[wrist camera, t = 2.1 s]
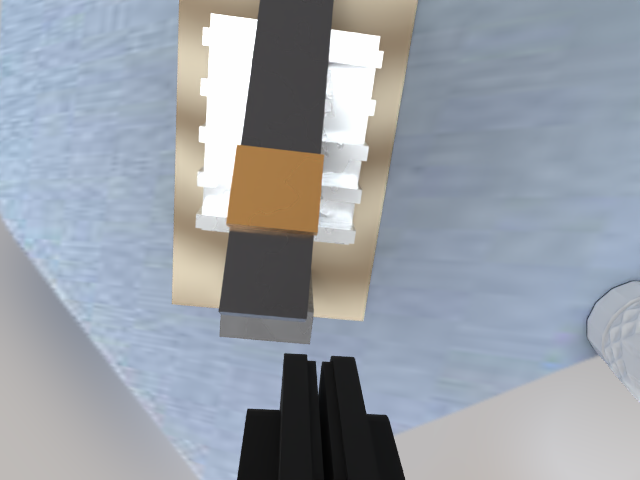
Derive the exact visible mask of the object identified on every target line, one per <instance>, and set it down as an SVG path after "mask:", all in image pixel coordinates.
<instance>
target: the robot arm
mask: <svg viewBox="0 0 640 480" xmlns="http://www.w3.org/2000/svg"><path fill="white" fill-rule="evenodd" d="M237 480H405V477H404V473H403V469H402V466H401V462H400V458H399V455H398V451H397V447H396V444H395V440H394V436H393V432H392V429H391V425H390V421H389V419H388V417H387V416H386V415H376V414H366V410H365V405H364V400H363V395H362V390H361V386H360V381H359V376H358V371H357V366H356V362H355V358H354V357H343V356H331V359H330V362H322V366H321V375H320V384H319V394H318V387H317V373H316V361H307V355H306V354H287V353H284V363H283V376H282V389H281V401H280V410H266V409H247V414H246V421H245V428H244V435H243V442H242V449H241V456H240V463H239V470H238V477H237Z"/></svg>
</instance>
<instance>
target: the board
mask: <svg viewBox="0 0 640 480" xmlns="http://www.w3.org/2000/svg"><path fill="white" fill-rule="evenodd" d="M259 3H260V0H179V29H178V72H177V114H176V156H175V198H174V240H173V283H172V304H177V305H188V306H199V307H210V308H219V305H220V297H221V290H222V282H223V275H224V267H225V259H226V252H227V244H228V237H229V233H227V232H217V231H208V230H202V228H195V227H196V213H197V212H198V211H199V209H200V208H201V206H202V205H203V187H200V186H197V176H198V171H199V170H200V169H201V168H202V167H203V166H204V164H205V143H204V142H199V127H200V126H201V125H203V124H204V123H206V118H207V96H205V95H201V79H202V78H208V72H209V49H210V46H206V45H203V27H204V28H210V26H211V14H218V15H225V16H233V17H240V18H248V19H255V20H257V18H258V11H259ZM417 3H418V0H334V3H333V15H332V27H331V30H336V31H344V32H351V33H358V34H366V35H373V36H380V41H379V48H378V51H384V53H383V59H382V66H381V68H375V74H374V81H373V88H372V94H371V98H372V99H374V100H376V105H375V111H374V116H368V121H367V127H366V134H365V142H366V144H367V145H368V146H369V150H368V157H367V161H361V167H360V174H359V180H358V182H359V184H360V186H361V188H362V195H361V202H360V204H357V203H355V207H354V214H353V223H354V226H355V229H356V234H355V241H354V244H349V245H345V244H335V243H325V242H316V241H313V252H312V264H311V270H312V288H313V307H314V315H313V317H321V318H332V319H343V320H354V321H363V319H364V313H365V308H366V302H367V296H368V290H369V284H370V278H371V272H372V267H373V261H374V255H375V249H376V243H377V237H378V231H379V226H380V220H381V214H382V208H383V202H384V196H385V190H386V184H387V179H388V173H389V167H390V161H391V155H392V149H393V143H394V138H395V132H396V126H397V120H398V114H399V108H400V102H401V97H402V91H403V85H404V79H405V73H406V67H407V61H408V56H409V50H410V44H411V38H412V32H413V26H414V20H415V14H416V9H417Z"/></svg>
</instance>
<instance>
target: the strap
mask: <svg viewBox="0 0 640 480" xmlns="http://www.w3.org/2000/svg"><path fill="white" fill-rule="evenodd" d="M333 3H334V0H260V3H259V11H258V18H257V26H256V33H255V41H254V49H253V56H252V64H251V71H250V79H249V86H248V94H247V101H246V109H245V116H244V124H243V131H242V139H241V145H237V146H236V153H235V161H234V168H233V176H232V183H231V190H230V198H229V205H228V212H227V220H226V225H227V227H230V229H229V237H228V244H227V252H226V259H225V267H224V275H223V282H222V290H221V297H220V305H219V313H220V314H221V315H229V316H240V317H251V318H263V319H274V320H285V321H296V322H305V321H306V320H307V312H308V300H309V288H310V276H311V264H312V252H313V241H314V236H317V233H318V224H319V212H320V199H321V187H322V175H323V163H324V155H323V154H321V146H322V134H323V122H324V110H325V98H326V86H327V74H328V63H329V51H330V39H331V27H332V15H333Z"/></svg>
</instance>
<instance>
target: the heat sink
mask: <svg viewBox="0 0 640 480" xmlns="http://www.w3.org/2000/svg"><path fill="white" fill-rule="evenodd" d="M256 26H257V20H255V19H248V18H240V17H233V16H225V15H218V14H211V26H210V28H204V27H203V45H206V46H210V49H209V72H208V78H202V79H201V95H205V96H207V118H206V123H204V124H203V125H201V126H200V127H199V142H204V143H205V164H204V166H203V167H202V168H201V169H200V170H199V171H198V176H197V186H200V187H203V205H202V206H201V208H200V209H199V211H198V212H197V213H196V227H195V228H202V230H208V231H217V232H227V233H229V229H230V227H227V225H226V220H227V212H228V205H229V198H230V190H231V183H232V176H233V168H234V161H235V153H236V146H237V145H241V139H242V131H243V124H244V116H245V109H246V101H247V94H248V86H249V79H250V71H251V64H252V56H253V49H254V41H255V33H256ZM379 41H380V36H373V35H366V34H358V33H351V32H344V31H336V30H331V39H330V51H329V63H328V74H327V86H326V98H325V110H324V122H323V134H322V146H321V154H323V155H324V163H323V175H322V187H321V199H320V212H319V224H318V233H317V236H314V241H316V242H325V243H335V244H345V245H349V244H354V241H355V234H356V229H355V226H354V223H353V214H354V207H355V203H357V204H360V202H361V195H362V188H361V186H360V184H359V182H358V180H359V174H360V167H361V161H367V157H368V150H369V146H368V145H367V144H366V142H365V134H366V127H367V121H368V116H374V111H375V105H376V100H374V99H372V98H371V94H372V88H373V81H374V74H375V68H381V66H382V59H383V53H384V51H378V48H379ZM313 315H314V307H313V288H312V270H311V276H310V288H309V300H308V312H307V320H306V321H305V322H296V321H285V320H274V319H263V318H251V317H240V316H229V315H221V320H220V337H230V338H242V339H253V340H265V341H277V342H288V343H300V344H310V338H311V330H312V323H313Z"/></svg>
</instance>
